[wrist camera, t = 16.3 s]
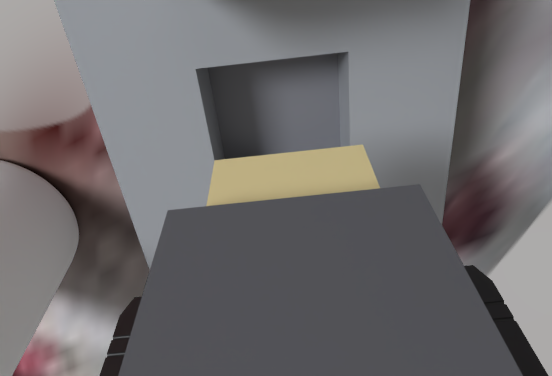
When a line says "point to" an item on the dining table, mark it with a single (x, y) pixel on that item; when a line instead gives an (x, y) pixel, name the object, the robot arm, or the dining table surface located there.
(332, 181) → the plug
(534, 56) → the dining table surface
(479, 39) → the dining table surface
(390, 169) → the socket
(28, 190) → the pill bottle
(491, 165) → the dining table surface
